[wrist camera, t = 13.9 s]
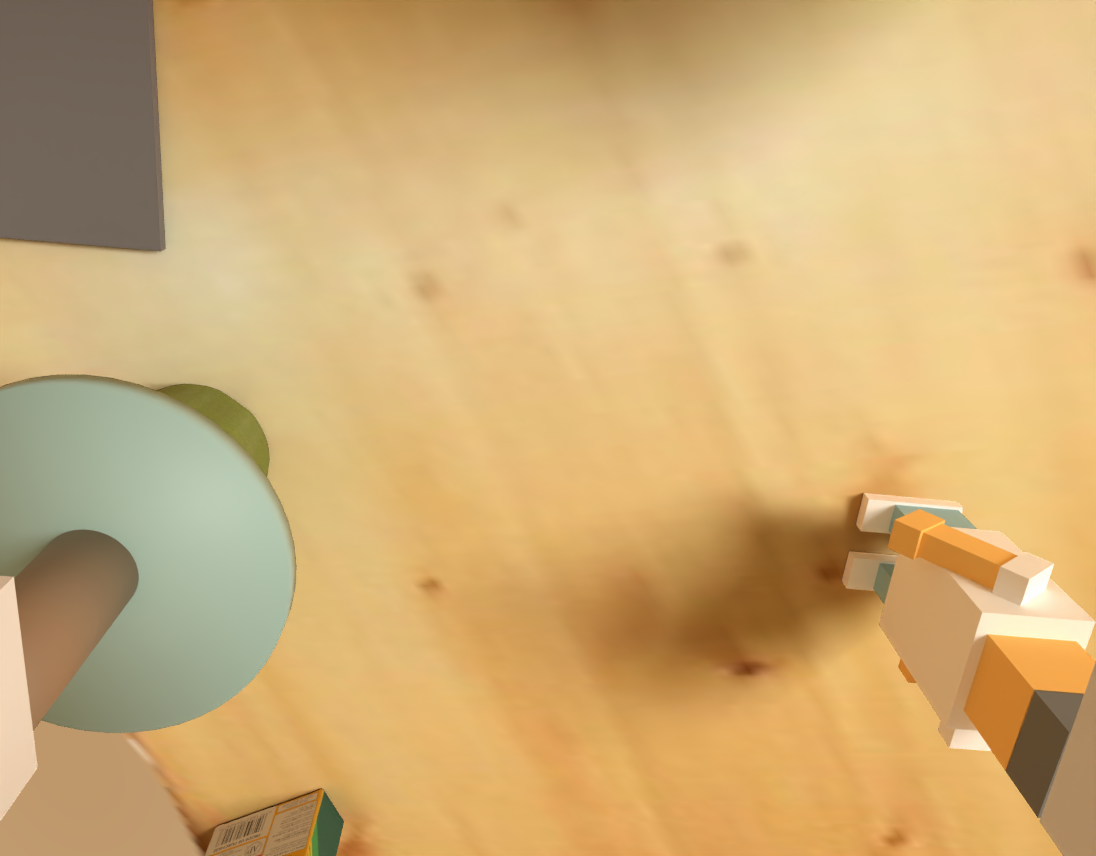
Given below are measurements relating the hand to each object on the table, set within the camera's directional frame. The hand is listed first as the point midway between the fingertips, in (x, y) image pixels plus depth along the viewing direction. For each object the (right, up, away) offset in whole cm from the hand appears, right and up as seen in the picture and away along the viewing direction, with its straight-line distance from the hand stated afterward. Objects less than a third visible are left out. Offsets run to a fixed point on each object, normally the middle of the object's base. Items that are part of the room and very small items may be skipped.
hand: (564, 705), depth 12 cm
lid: (-18, -2, +25) cm, 31 cm away
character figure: (+19, -2, +39) cm, 43 cm away
